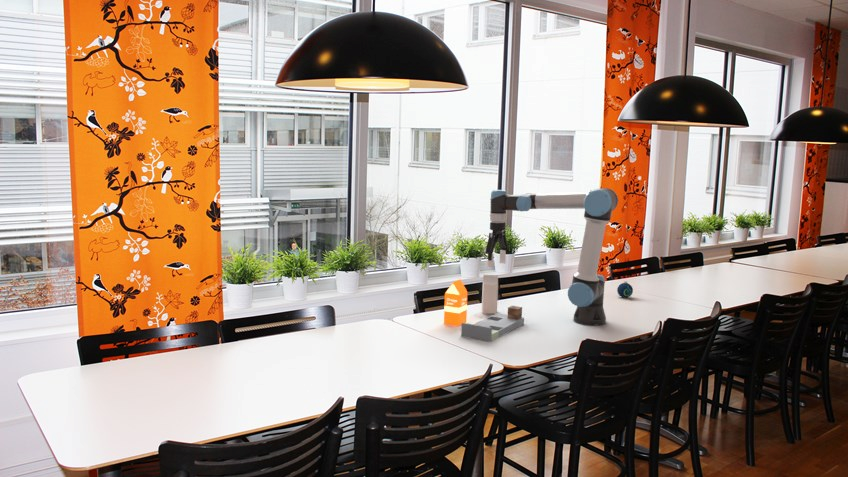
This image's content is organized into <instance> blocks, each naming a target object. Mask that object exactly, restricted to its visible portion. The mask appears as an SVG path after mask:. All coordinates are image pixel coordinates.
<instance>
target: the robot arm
mask: <svg viewBox="0 0 848 477" xmlns="http://www.w3.org/2000/svg"><path fill="white" fill-rule="evenodd" d="M618 203H619V199H618V195H617V193H616V192H615V191H614V190H613V189H610V188H608V187H607V188H606V187H603V188H596V189H593V190H591V189H590V190H588V191H587V192H554V193H553V192H549V193H546V192H545V193H542V192H541V193H529V192H528V193H525V194H523V193H522V194H508V192H507V190H505V189H504V190H503V189H493V190H491V193H490V211H489V212H490V214H489V217H490V219H489V221H490V223H489V230H490V231H492V232H489V233H488V239H487V244H486V248H485V254H487V268H488V267H489V268H494V260H495V259H494V255H495V254H494V250H495V248H496V246H497V244H499V247H500V250H499V263H500V264H506V257H507V256H506V252H507V251H508V250H509V246H508V244H509V243H508V239H507V234H506V233H507V232H506V223H507V222H506V221H507V211H513V212H514V211H516V212H528V211H530V210H552V209H553V210H555V209H561V210H565V209H566V210H567V209H569V210H573V209H576V210H578V209H579V210H580V209H584V214H583V218H584V219H585V228H584V234H583V238H582V244H581V250H580V254H579V260H578V266H577V271H576V272H575V273H574V274H573V276H572V282H571V285H570V286H569V287H568V290H567V297H568V300H569V301H570V302H571V304H572V305H574V306H576V309H575V312H574V314H573V322H575V323H578V324H581V325H585V326H586V325H587V326H603V325H605V324H606V323H607V317H606V313H605V309H604V297H605V296H604V294H605V284H606V280H605V277H604V275H602V274H597V273H598V268H599V262H600V259H601V254H602V253H601V252H602V247H603V241H604V237H605V231H606V226H607V224H608V223H609V222H611V218H612V212H613V211H614V210H615V209H616V208H617V207H618Z"/></svg>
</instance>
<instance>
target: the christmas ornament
mask: <svg viewBox="0 0 848 477" xmlns="http://www.w3.org/2000/svg"><path fill="white" fill-rule="evenodd" d="M616 290H617V294H618V296H619V297H621V298H624V299H628V298H630V297H632V295H633V292H634V289H633V286H632V285H631V284H630V283H628V280H624V281H623V282H622V283H620V284H619V285H618V286H617V288H616Z"/></svg>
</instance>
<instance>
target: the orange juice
mask: <svg viewBox="0 0 848 477" xmlns="http://www.w3.org/2000/svg"><path fill="white" fill-rule="evenodd" d="M443 308H444V309H443V310H444V311H443V316H444V318H443V324H444V325H451V326H456V327H459V326H462V323H467V315H468V313H467V312H468V291H467V288H466V287H465V285H464V283H463V281H462V280H461V279H460V278H459V279H458V280H455V281H452V283H451V285H450V286H449V287H448V288H447V290H446V291H445V293H444V307H443Z"/></svg>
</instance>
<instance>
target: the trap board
mask: <svg viewBox="0 0 848 477" xmlns="http://www.w3.org/2000/svg"><path fill="white" fill-rule="evenodd" d="M507 317H508V314H504V313H498V312H497V313H496V314H492V315H490V316H488V317H486V318H483V319H481V320H479V321H477V322H475V323H473V324H472V323H467V322H465V323H462V325H461V330H460V331H461V333H460V335H461V336H460V337H462V338H463V337H464V338H468V339H473V340H478V341H483V342H488V343H491V342H493V341H495V340H497V339H499V338H501V337H502V336H504V335H506V334H507V333H510V332H511V331H513V330H515V329H517V328H519V327H521V326H523V325H524V323H525V317H523V316H522V318H520V319H518V320H516V319H510V318H507Z"/></svg>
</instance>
